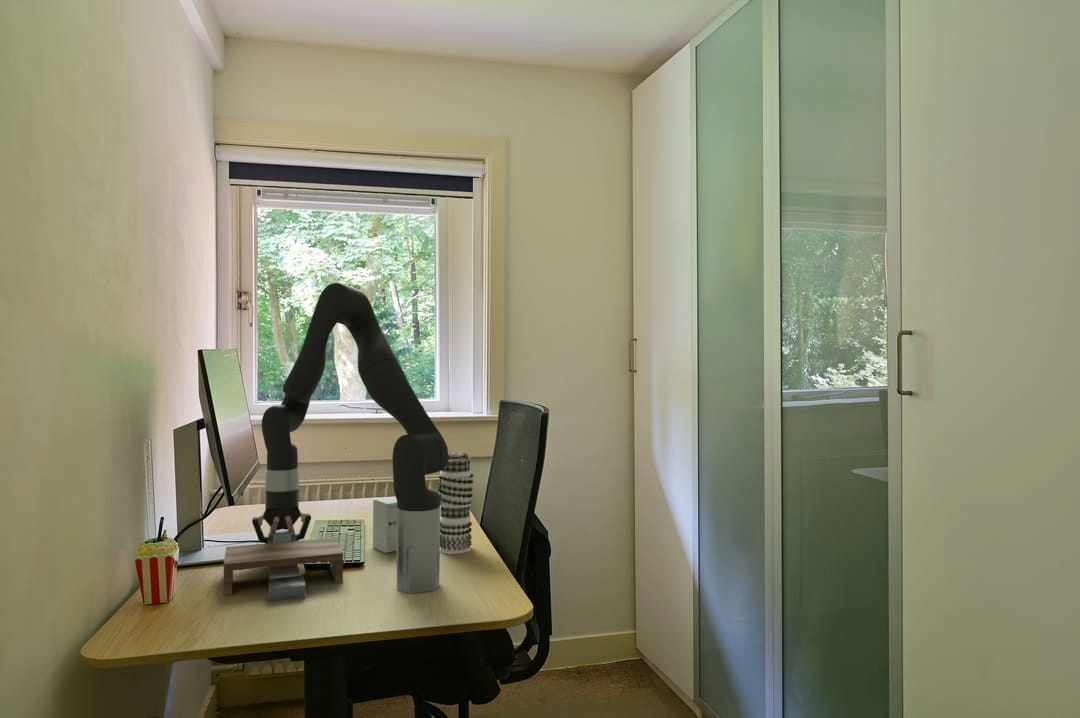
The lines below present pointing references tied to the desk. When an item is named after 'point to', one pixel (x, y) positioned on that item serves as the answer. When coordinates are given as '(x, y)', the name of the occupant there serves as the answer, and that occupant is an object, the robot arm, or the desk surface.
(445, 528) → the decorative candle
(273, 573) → the grey bar
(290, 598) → the grey flat block
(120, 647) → the desk surface
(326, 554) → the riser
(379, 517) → the supplement box
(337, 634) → the desk surface
